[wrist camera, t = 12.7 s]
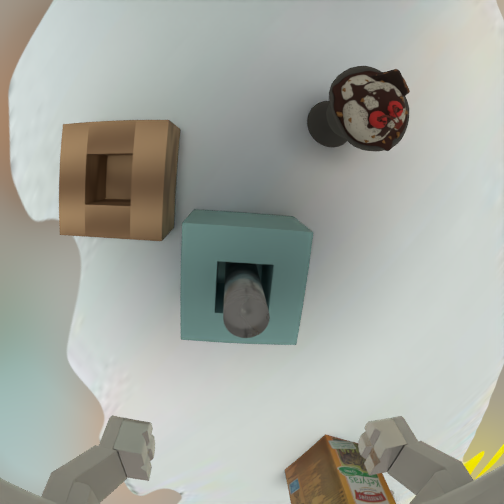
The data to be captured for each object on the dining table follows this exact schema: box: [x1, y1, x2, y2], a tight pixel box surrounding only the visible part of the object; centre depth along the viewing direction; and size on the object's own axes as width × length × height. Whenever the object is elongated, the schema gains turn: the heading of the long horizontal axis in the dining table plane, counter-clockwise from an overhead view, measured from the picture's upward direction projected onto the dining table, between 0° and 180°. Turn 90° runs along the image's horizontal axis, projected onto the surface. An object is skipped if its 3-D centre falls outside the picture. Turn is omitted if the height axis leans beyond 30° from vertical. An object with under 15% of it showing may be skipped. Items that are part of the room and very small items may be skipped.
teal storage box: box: [181, 209, 313, 345], centre depth 29 cm, size 10×10×8 cm
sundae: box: [308, 66, 410, 151], centre depth 22 cm, size 7×7×15 cm
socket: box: [59, 120, 180, 241], centre depth 27 cm, size 10×10×6 cm
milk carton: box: [285, 435, 396, 504], centre depth 33 cm, size 11×11×19 cm
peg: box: [223, 262, 270, 338], centre depth 26 cm, size 3×3×12 cm
